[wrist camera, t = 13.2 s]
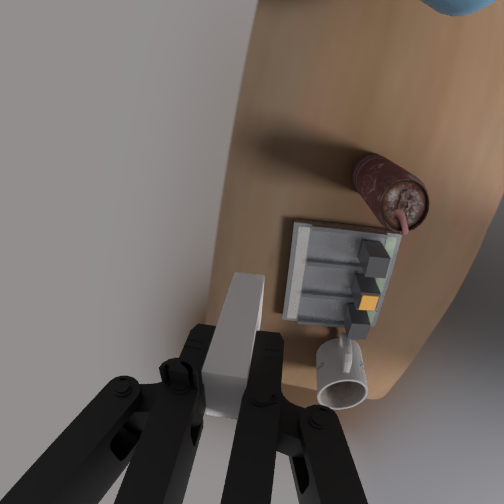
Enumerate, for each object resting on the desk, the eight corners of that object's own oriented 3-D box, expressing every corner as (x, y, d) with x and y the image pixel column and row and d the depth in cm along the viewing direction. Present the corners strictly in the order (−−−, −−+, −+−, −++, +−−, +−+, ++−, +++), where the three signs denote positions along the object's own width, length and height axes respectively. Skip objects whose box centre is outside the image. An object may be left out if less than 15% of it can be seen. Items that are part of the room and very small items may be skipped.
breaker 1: (347, 303, 47) (351, 323, 42) (365, 304, 46) (370, 324, 42) (343, 318, 48) (347, 338, 44) (360, 319, 48) (365, 339, 43)
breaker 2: (362, 240, 42) (369, 256, 37) (381, 242, 41) (390, 258, 37) (358, 258, 43) (364, 276, 39) (377, 260, 43) (385, 278, 38)
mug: (351, 371, 56) (356, 410, 47) (310, 366, 56) (311, 407, 47) (374, 325, 50) (385, 366, 41) (329, 319, 50) (333, 361, 42)
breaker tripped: (355, 273, 44) (361, 293, 39) (373, 275, 44) (381, 295, 39) (350, 290, 46) (356, 311, 41) (369, 291, 45) (375, 312, 41)
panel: (294, 218, 43) (294, 224, 41) (398, 230, 42) (403, 236, 40) (282, 313, 51) (281, 322, 49) (372, 320, 50) (375, 329, 48)
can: (357, 202, 41) (384, 245, 29) (345, 160, 39) (370, 185, 26) (396, 191, 39) (436, 228, 27) (385, 148, 37) (426, 168, 25)
